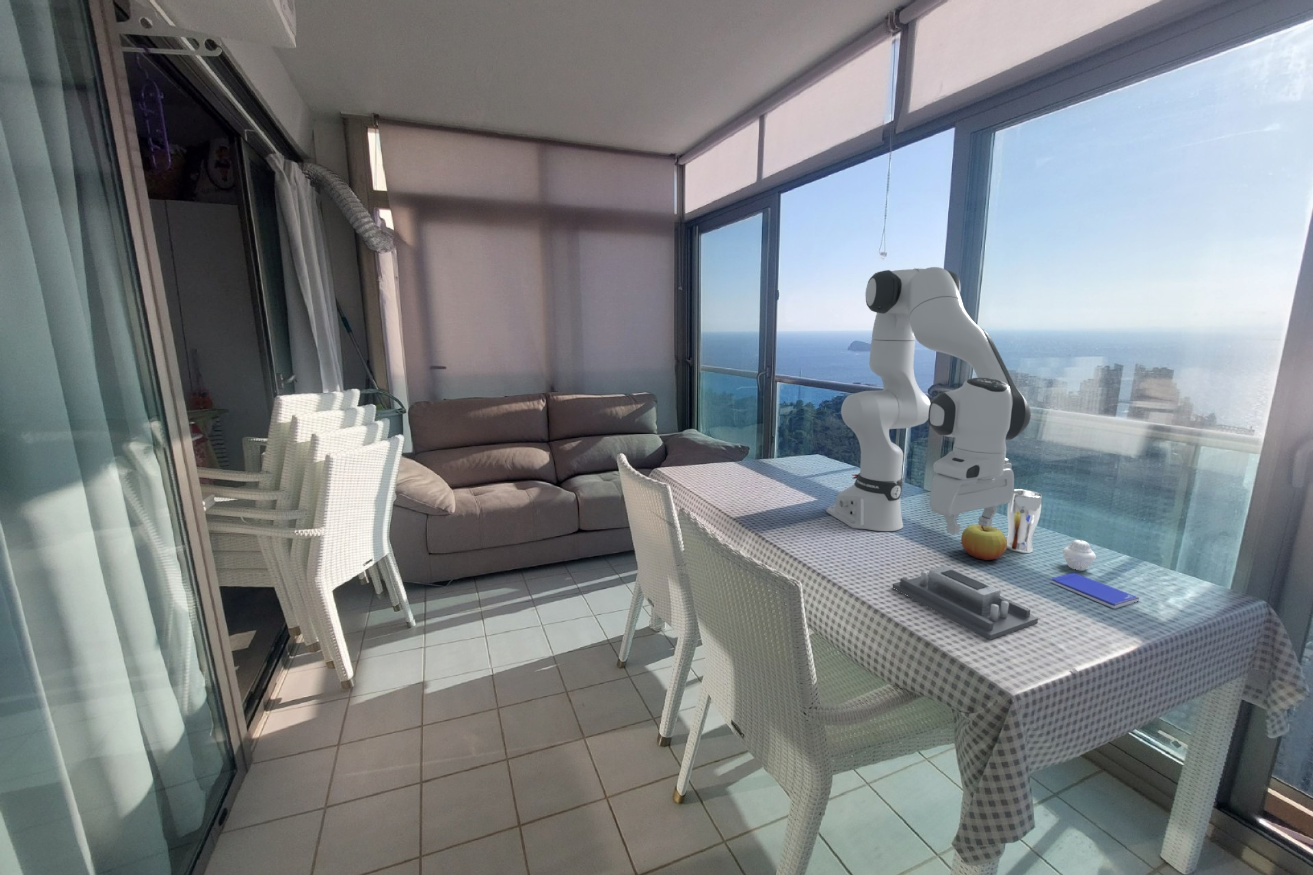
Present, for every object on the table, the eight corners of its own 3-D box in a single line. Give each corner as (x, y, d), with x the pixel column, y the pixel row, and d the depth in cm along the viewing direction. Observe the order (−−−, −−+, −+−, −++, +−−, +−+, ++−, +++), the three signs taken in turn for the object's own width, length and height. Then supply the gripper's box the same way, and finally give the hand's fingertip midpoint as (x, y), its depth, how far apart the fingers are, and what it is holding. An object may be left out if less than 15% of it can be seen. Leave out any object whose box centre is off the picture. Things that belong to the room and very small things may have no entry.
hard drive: (1139, 596, 111) (1075, 572, 122) (1115, 603, 108) (1051, 578, 119) (1138, 603, 111) (1073, 578, 122) (1113, 611, 108) (1050, 584, 119)
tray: (892, 587, 117) (894, 571, 116) (936, 575, 122) (938, 559, 122) (990, 640, 97) (992, 620, 96) (1037, 622, 103) (1040, 603, 102)
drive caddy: (927, 589, 114) (929, 569, 113) (943, 584, 116) (945, 565, 115) (981, 616, 103) (984, 594, 102) (997, 610, 105) (1000, 589, 104)
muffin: (1059, 568, 126) (1063, 540, 125) (1061, 559, 131) (1066, 533, 129) (1093, 576, 122) (1098, 547, 121) (1094, 567, 127) (1098, 539, 125)
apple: (950, 551, 136) (953, 522, 134) (976, 545, 140) (979, 516, 138) (987, 567, 127) (991, 535, 125) (1013, 560, 131) (1018, 529, 129)
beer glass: (999, 548, 137) (1007, 493, 134) (1005, 540, 142) (1012, 487, 139) (1032, 556, 133) (1040, 498, 130) (1037, 548, 138) (1045, 492, 135)
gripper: (996, 453, 111) (987, 516, 114) (927, 464, 103) (919, 531, 105) (1027, 460, 105) (1017, 526, 108) (957, 472, 97) (948, 543, 100)
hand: (968, 529), depth 107 cm, fingers open, 8 cm apart
